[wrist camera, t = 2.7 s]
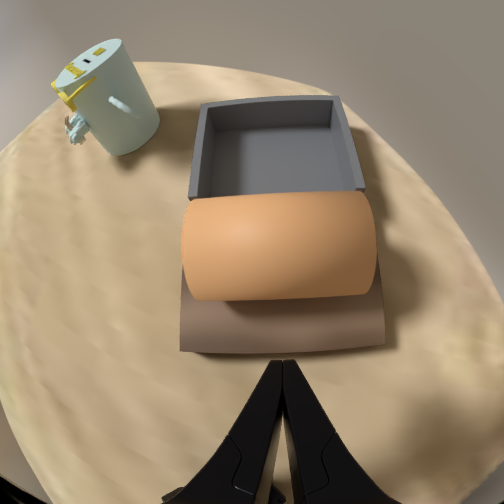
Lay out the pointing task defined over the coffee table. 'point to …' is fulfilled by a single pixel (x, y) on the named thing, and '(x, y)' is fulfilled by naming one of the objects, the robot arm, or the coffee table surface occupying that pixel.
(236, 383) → the coffee table surface
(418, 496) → the coffee table surface
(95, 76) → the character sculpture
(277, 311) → the board
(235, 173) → the tray
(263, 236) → the roller
